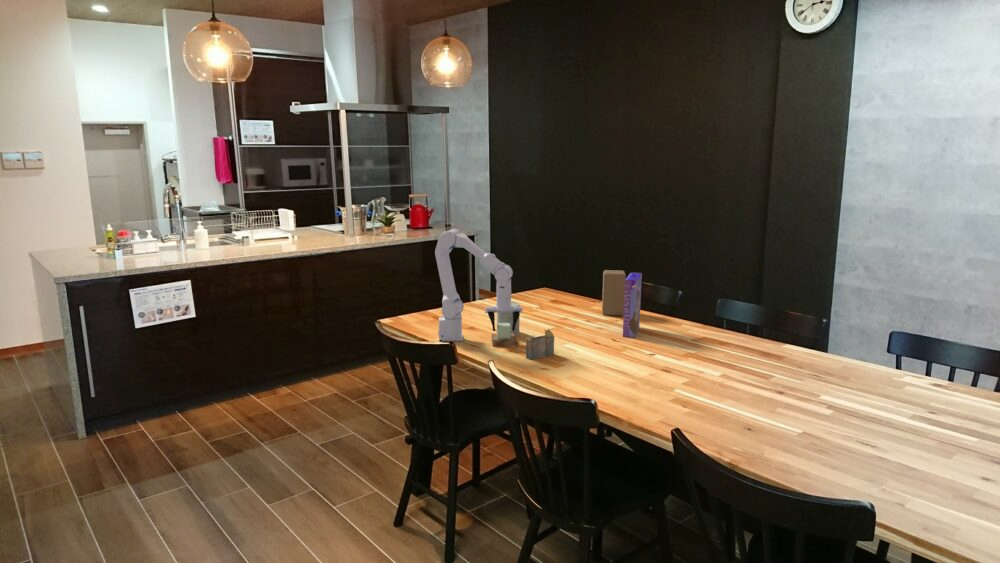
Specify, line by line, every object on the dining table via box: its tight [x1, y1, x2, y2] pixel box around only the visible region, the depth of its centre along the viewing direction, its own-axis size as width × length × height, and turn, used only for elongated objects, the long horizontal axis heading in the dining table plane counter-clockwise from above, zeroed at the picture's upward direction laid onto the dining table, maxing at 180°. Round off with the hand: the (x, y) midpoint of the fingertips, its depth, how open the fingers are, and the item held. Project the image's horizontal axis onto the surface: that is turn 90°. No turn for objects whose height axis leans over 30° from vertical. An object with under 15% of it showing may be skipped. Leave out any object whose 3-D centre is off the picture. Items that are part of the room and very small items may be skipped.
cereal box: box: [622, 272, 643, 339], centre depth 263 cm, size 17×5×24 cm, turn 161°
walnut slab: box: [491, 333, 517, 347], centre depth 248 cm, size 9×9×2 cm
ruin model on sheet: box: [525, 328, 555, 361], centre depth 231 cm, size 11×3×10 cm, turn 128°
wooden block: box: [601, 269, 627, 317], centre depth 294 cm, size 10×10×20 cm
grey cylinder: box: [496, 301, 521, 336], centre depth 261 cm, size 10×10×12 cm
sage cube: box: [496, 322, 511, 339], centre depth 247 cm, size 5×5×5 cm
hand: (503, 330), depth 248 cm, fingers open, 7 cm apart
